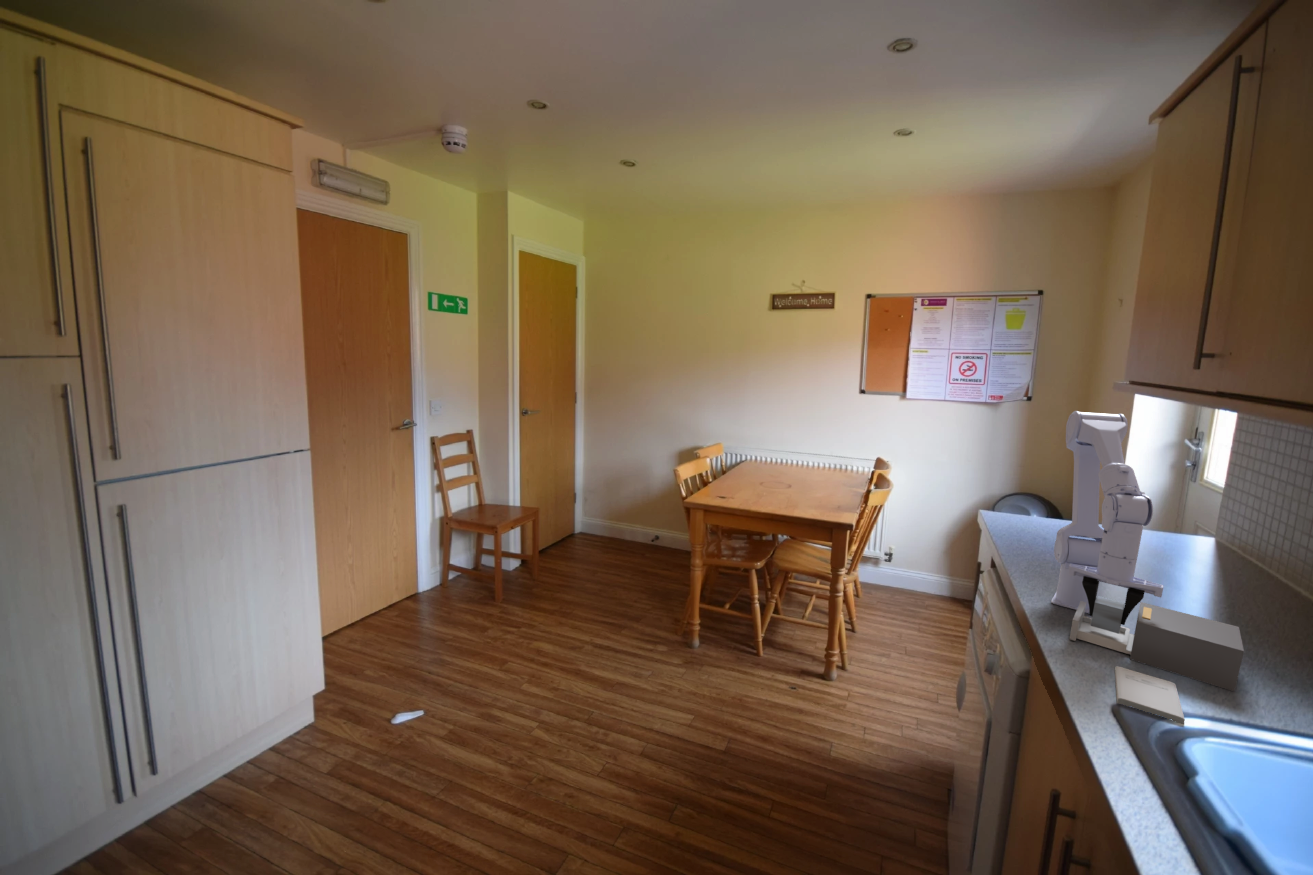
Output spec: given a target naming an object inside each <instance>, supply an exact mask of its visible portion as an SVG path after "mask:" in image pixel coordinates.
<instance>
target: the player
mask: <svg viewBox="0 0 1313 875" xmlns="http://www.w3.org/2000/svg"><path fill="white" fill-rule="evenodd" d="M1133 635H1134V640H1133V645H1132V651H1131V655H1130V657H1129V660H1131V661H1134V662H1138V663H1141V664H1144V665H1147V666H1150V667H1155V668H1157V669H1161V670H1164V671H1166V672H1170V673H1173V674H1176V675H1179V676H1183V677H1186V678H1189V679H1193V680H1196V681H1199V682H1202V683H1205V684H1209V685H1212V686H1215V687H1218V688H1222V689H1225V690H1228V691H1231V692H1234V693H1235V692H1236V688H1237V683H1238V679H1239V675H1240V669H1241V666H1242V661H1243V657H1244V653H1245V650H1244V645H1243V640H1242V636H1241V635H1242V634H1241V631H1240V626H1237V625H1233V624H1229V623H1226V622H1221V621H1218V620H1217V621H1216V620H1212V619H1209V618H1205V617H1202V616H1197V615H1195V614H1194V615H1193V614H1190V613H1187V612H1182V611H1178V610H1174V609H1170V608H1166V607H1161V606H1158V605H1154V604H1150V603H1147V602H1143V601H1140V602H1139V608H1138V612H1137V618H1136V622H1135V628H1134V634H1133Z"/></svg>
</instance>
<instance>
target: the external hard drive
mask: <svg viewBox="0 0 1313 875" xmlns="http://www.w3.org/2000/svg"><path fill="white" fill-rule="evenodd" d="M1114 675H1115V676H1114V677H1115V678H1114V679H1115V680H1114V681H1115V693H1116V704H1119V705H1122V704H1123V706H1125V705H1126V706H1125V707H1128V706H1132V707H1134V708H1137V709H1139V710H1138V711H1140V710H1143V711H1142V712H1144V711H1145V712H1144V713H1147V712H1151V713H1152V714H1151V715H1153V714H1157V715H1160V716H1163V717H1165V718H1167V719H1166V720H1169V719H1172V720H1173V721H1172V720H1171V721H1172V722H1175V721H1176V722H1175V723H1178V724H1181V725H1185V715H1184V713H1183V708H1182V704H1181V700H1180V697H1179V693H1178V689H1177V684H1176V683H1174V682H1173V681H1169V680H1168V679H1167V680H1166V679H1163V678H1159V677H1155V676H1152V675H1148V674H1147V673H1143V672H1138V671H1136V670H1132V669H1128V668H1126V667H1122V666H1115V669H1114ZM1134 708H1133V709H1134ZM1137 709H1136V710H1137ZM1165 718H1164V719H1165Z"/></svg>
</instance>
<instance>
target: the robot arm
mask: <svg viewBox="0 0 1313 875" xmlns="http://www.w3.org/2000/svg"><path fill="white" fill-rule="evenodd" d="M1128 428H1129V423H1128V419H1127V417H1126V416H1125V415H1124V414H1123V413H1102V412H1101V413H1100V412H1084V411H1078V410H1074V411H1073V412H1072V413H1070V414H1069V416H1068V419H1067V422H1066V426H1065V443H1066V444H1065V446H1066V447H1065V448H1066V449H1068V450H1070V452H1071V451H1072V452H1073V484H1072V485H1073V486H1072V509H1071V510H1072V513H1071V515H1072V516H1071V523H1069V524H1067V525H1065V526H1063V527H1061V528H1059V529H1058V530H1057V532H1056V539H1055V542H1054V544H1053V545H1054V546H1053V552H1054V554H1053V555H1054V558H1055V560H1056V561H1057V563H1059V564H1060V570H1059V576H1058V580H1057V588H1056V592H1055V593H1054V595H1053V597H1052V598H1051V600H1050V603H1052V604H1054V605H1057V606H1060V607H1064V608H1067V609H1072V610H1075V611H1077V608H1078V606H1079V604H1080V601H1083V602H1086V608H1085V614H1088V615H1089V617H1092V616H1093V610H1094V604H1095V601H1096V598H1097V596H1098V590H1099V586H1100V582H1101V583H1105V584H1109V585H1113V586H1117V587H1120V588H1125V589H1127V591H1126V597H1125V602H1124V603H1125V605H1124V610H1123V614H1122V620H1121V626H1125V625H1126V621H1127V619H1128V618H1129V616H1130V614H1131V612H1132V611H1133V610H1134V609H1135V608H1136V606H1137V605H1138V604H1140V602H1142V600H1144V597H1145V594H1150V595H1153V596H1154V597H1157V598H1162V596H1163V592H1164V585H1163V584H1160V583H1157V582H1152V581H1149V580H1146V579H1143V578H1140V577H1137V576H1135V572H1136V567H1137V561H1138V556H1139V551H1140V544H1141V539H1142V535H1143V529H1144V527H1146V526H1148V525H1149V524H1150V523H1151V522H1152V518H1153V514H1154V506H1153V505H1154V504H1153V502H1152V499H1151V497H1150V496H1149V495H1147V494H1146V493H1145V491H1141V490H1140V485H1139V483H1138V480H1137V477H1136V474H1135V471H1134V469H1133V468H1132V466H1130V465H1127V464H1125V459H1124V458H1125V457H1124V453H1123V452H1124V451H1123V448H1122V447H1123V446H1122V443H1123V441H1124V439H1125V437H1126V436H1127V433H1128ZM1101 467H1102V468H1101ZM1100 486H1101V491H1102V493H1103V497H1104V498H1103V501H1102V503H1101V516H1102V519H1101V527H1100V524H1099V521H1100V520H1099V518H1100V517H1099V516H1100Z"/></svg>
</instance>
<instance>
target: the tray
mask: <svg viewBox="0 0 1313 875" xmlns="http://www.w3.org/2000/svg"><path fill="white" fill-rule="evenodd" d="M1085 608H1086V602H1083V601H1080V604H1079V606H1078V608H1077V610H1075V613H1074V616H1073V618H1072V621H1071V628H1070V633H1069V640H1071V641H1075V642H1076V641H1077V640H1081V641H1083V642H1087V643H1090V644H1094V645H1097V646H1101V647H1103V648H1106V649H1107V648H1108V649H1110V650H1113V651H1116V652H1120V653H1124V654H1127V655H1130V656H1131V651H1132V645H1133V640H1134V634H1133V633H1130V630H1131V628H1128V627H1124V626H1123V625H1121V627H1120V631H1119V634H1118V633H1114V632H1111V631H1107V630H1104V629H1100V628H1097V627H1093V626H1091V621H1092V617H1091V616H1086V615H1085V614H1086V613H1085Z"/></svg>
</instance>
